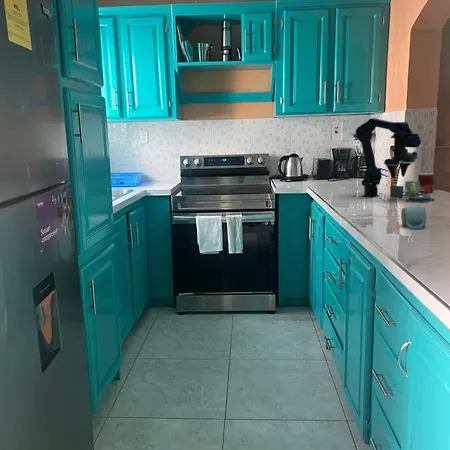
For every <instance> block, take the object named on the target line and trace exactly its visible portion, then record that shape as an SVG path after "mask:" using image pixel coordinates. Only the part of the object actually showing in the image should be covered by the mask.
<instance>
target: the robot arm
mask: <svg viewBox="0 0 450 450" xmlns="http://www.w3.org/2000/svg"><path fill="white" fill-rule="evenodd" d="M376 128H380V129H385V130H389V131H390V132H391V133H393V135H391V136H390V138H391V139H393V140H394V141H393V148H392V149H391V150H392V152H393V156H392V157H391V158H385V160H384V165H385V167H386V168H387V170H388V172H389V174H390V176H391V178H392V179H395V178H396V174H397V173H396V172H397V168H399V169H400V175H401V177H403V178H404V177H405V175H406V173H407V170H408V168H409V167H410V166H411V165H412V164H413V163H414V162H416V159H418V152H416V151H413V152H409V149H408V148H414V149H415V148H417V149H418V148H419V147H420V146H421V141H422V140H421V138H420V137H419V133H413V131H412V130H411V128H410V126H409V123H408V122H406V121H397V122H395V121H390V120H384V119H379V118H376V117H375V118H369V119H368V120H367V121H366V122H364V123H362V124H360V126H358V127H357V128H356V130H355V135H356V137H357V139H358V141H359V142H360V143H361V146H362V147H361V149H362V152H363V157H364V162H365V167H366V169H365V172H364V178H363V179H362V180H361V186H363V187H364V189H363V193H364V194H363V195H361V196H362V197H366V198H367V197H369V198H373V197H374V198H375V197H379V196H380V195H379V194H378V191H379V190H378V189H379V188H378V185H380V184H381V183H380V182H381V181H382V176H383V173H382V169H381V167H378V166H377V164H376V160H375V156H374V150H373V145H372V138H373V132H374V131H375V130H376Z"/></svg>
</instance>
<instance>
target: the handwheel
mask: <svg viewBox="0 0 450 450" xmlns="http://www.w3.org/2000/svg"><path fill="white" fill-rule="evenodd" d="M430 198H432V196H431V194H423V193H417V194H416V183H410V195H409V197H408V199H415V200H426V199H430Z"/></svg>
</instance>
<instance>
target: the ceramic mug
mask: <svg viewBox="0 0 450 450" xmlns="http://www.w3.org/2000/svg"><path fill="white" fill-rule="evenodd" d="M426 211H427V210H426V207H425V206H424V205H418V206H416V205H415V206H406V207H403V208H402V209H401V212H400V213H401V217H400V218H401V223H402V225H403V226H404V227H408V228H409V229H412V230H420V229H423V227H425V226H426V225H427V212H426Z"/></svg>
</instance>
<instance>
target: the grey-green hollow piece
mask: <svg viewBox="0 0 450 450" xmlns="http://www.w3.org/2000/svg"><path fill="white" fill-rule="evenodd" d="M410 183H416V194H417V193H419V190H420V181H418V180H416V181H415V180H406V181H405V184H404V185H405V186H404V187H405V189H410ZM405 189H404V190H405ZM409 195H410V192H407V193H404V194H403V197H405V196H406V197H407V198H409Z"/></svg>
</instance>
